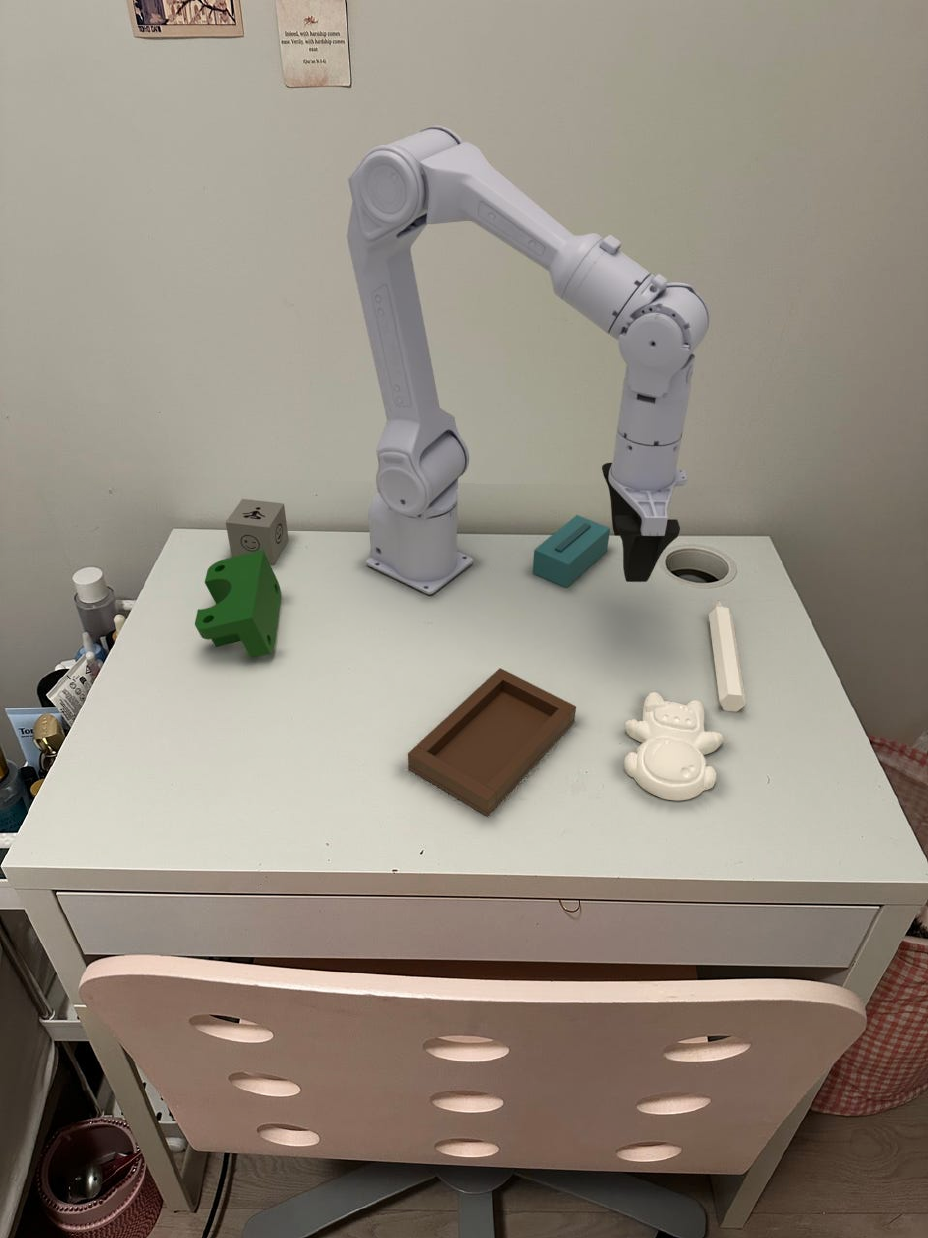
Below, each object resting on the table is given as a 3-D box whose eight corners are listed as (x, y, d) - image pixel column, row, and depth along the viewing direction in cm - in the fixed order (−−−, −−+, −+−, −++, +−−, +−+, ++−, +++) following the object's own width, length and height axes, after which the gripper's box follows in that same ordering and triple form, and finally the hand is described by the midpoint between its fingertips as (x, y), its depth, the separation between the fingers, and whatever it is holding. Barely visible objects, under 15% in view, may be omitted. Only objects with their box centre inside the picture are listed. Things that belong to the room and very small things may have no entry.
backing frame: (487, 817, 78) (488, 800, 76) (408, 769, 82) (407, 753, 80) (574, 722, 86) (576, 706, 85) (499, 683, 90) (499, 667, 89)
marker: (716, 612, 101) (732, 715, 88) (701, 602, 100) (715, 705, 88) (733, 596, 99) (751, 699, 87) (717, 587, 99) (734, 689, 86)
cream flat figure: (726, 716, 87) (733, 693, 85) (709, 812, 78) (716, 788, 77) (634, 694, 89) (638, 671, 87) (608, 785, 81) (612, 761, 79)
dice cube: (232, 559, 106) (225, 522, 102) (248, 534, 109) (242, 498, 106) (274, 564, 105) (268, 527, 102) (288, 539, 109) (284, 503, 106)
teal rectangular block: (566, 588, 102) (569, 562, 100) (532, 573, 104) (534, 547, 102) (607, 550, 108) (610, 525, 106) (574, 537, 110) (577, 512, 108)
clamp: (239, 638, 102) (213, 559, 99) (292, 625, 101) (267, 546, 99) (208, 676, 90) (177, 588, 88) (266, 662, 90) (237, 573, 87)
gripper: (712, 472, 77) (685, 602, 85) (678, 394, 88) (657, 515, 96) (627, 472, 76) (608, 601, 85) (604, 393, 88) (589, 515, 96)
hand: (629, 556), depth 91 cm, fingers open, 7 cm apart
